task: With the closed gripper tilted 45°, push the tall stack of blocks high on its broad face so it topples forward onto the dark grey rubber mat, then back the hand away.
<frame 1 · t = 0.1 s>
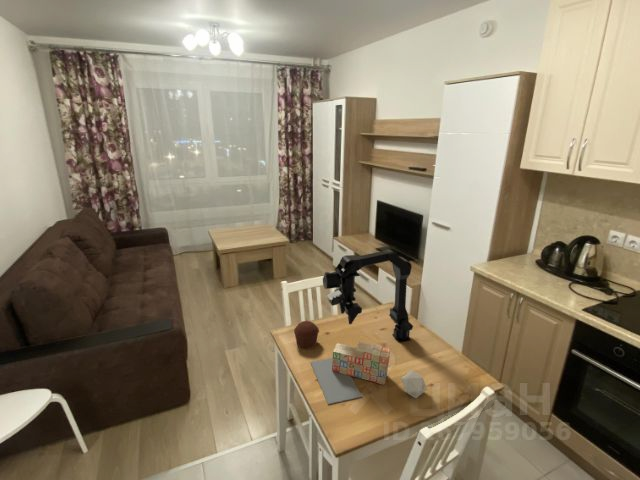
hand: (346, 318, 147), 15 cm above the table, tool pointing down, fingers open, 9 cm apart
muffin: (306, 343, 155), on the table
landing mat: (334, 378, 132), on the table
stack of blocks: (359, 373, 135), on the table, touching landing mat
die: (412, 393, 126), on the table
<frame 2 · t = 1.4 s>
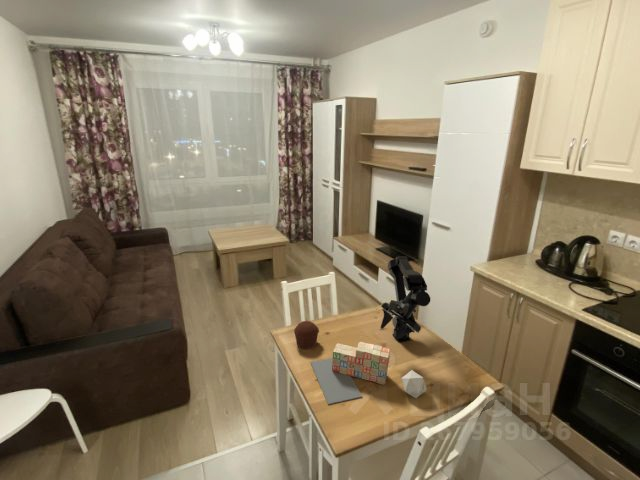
hand: (388, 333, 139), 13 cm above the table, tool tilted 45°, fingers open, 8 cm apart
nothing on the table moved.
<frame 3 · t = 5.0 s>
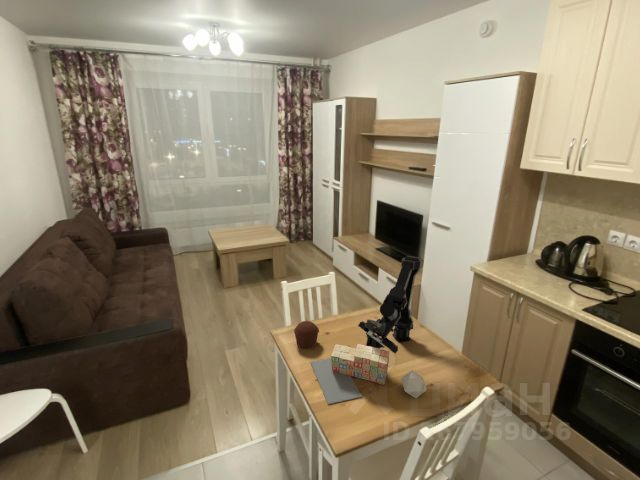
hand: (364, 354, 134), 8 cm above the table, tool tilted 45°, fingers closed
stack of blocks: (359, 372, 135), point 1 cm above the table, touching gripper, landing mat
everything else where it was.
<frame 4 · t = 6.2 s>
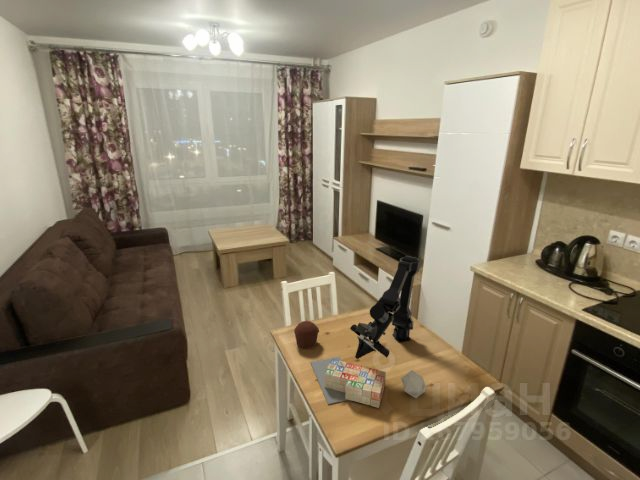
hand: (356, 358, 132), 8 cm above the table, tool tilted 45°, fingers closed
stack of blocks: (358, 371, 131), point 4 cm above the table, touching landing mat
everything else where it was.
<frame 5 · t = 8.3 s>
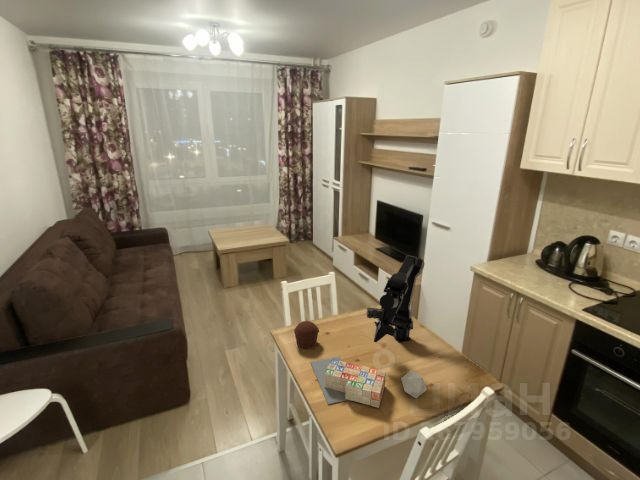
hand: (374, 341, 139), 10 cm above the table, tool tilted 25°, fingers closed
nothing on the table moved.
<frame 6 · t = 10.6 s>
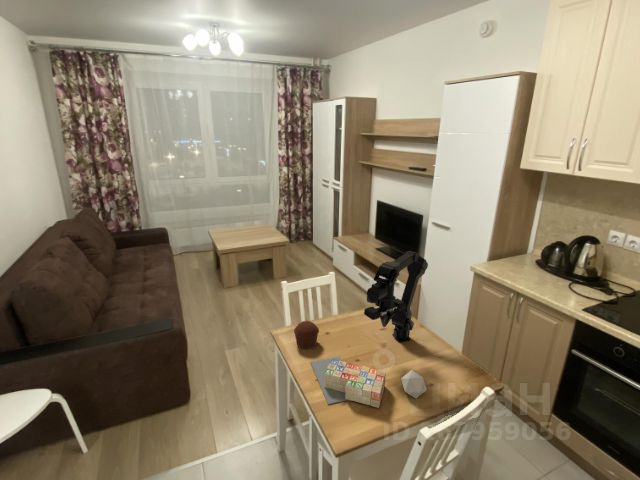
hand: (384, 326, 145), 13 cm above the table, tool pointing down, fingers closed
nothing on the table moved.
at the end: stack of blocks tilted 90°; stack of blocks touching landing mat; stack of blocks inside the target area (5.5 cm from its centre), point 3.5 cm above the table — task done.
